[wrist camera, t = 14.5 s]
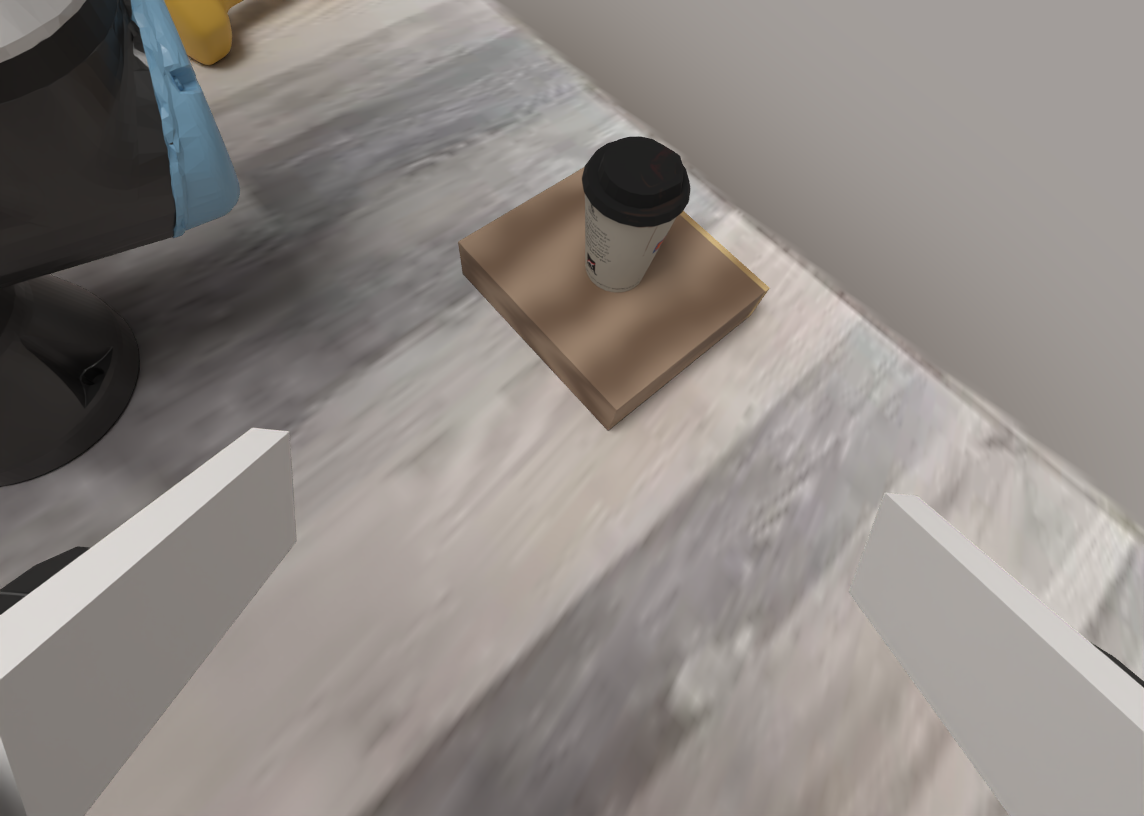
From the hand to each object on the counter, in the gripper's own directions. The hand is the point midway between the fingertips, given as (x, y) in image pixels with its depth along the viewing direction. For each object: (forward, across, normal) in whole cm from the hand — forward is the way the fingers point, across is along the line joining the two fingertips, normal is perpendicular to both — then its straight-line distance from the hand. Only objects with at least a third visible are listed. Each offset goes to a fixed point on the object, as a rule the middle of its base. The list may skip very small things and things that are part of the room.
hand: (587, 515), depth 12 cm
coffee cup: (+33, +3, +2) cm, 34 cm away
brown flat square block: (+36, +3, -1) cm, 36 cm away
